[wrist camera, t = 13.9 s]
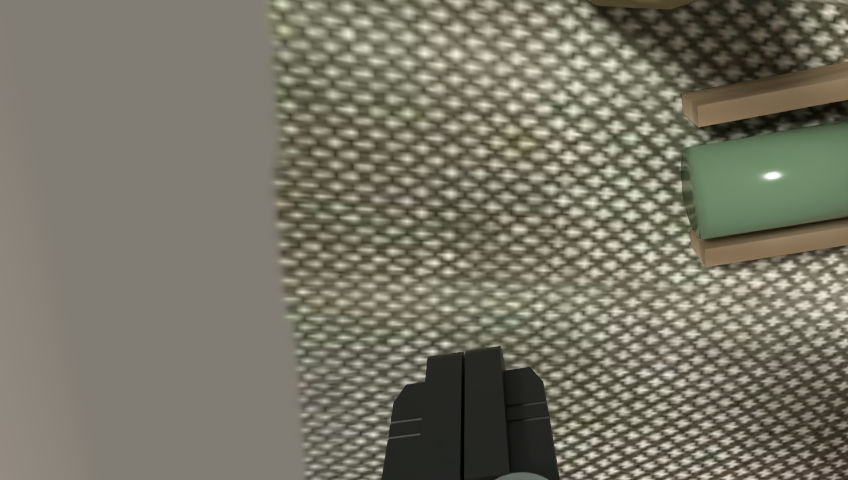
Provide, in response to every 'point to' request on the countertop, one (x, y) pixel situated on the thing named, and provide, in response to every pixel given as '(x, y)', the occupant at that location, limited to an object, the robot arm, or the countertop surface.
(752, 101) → the u rest
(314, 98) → the countertop surface
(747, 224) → the bottle
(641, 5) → the squeeze bottle
